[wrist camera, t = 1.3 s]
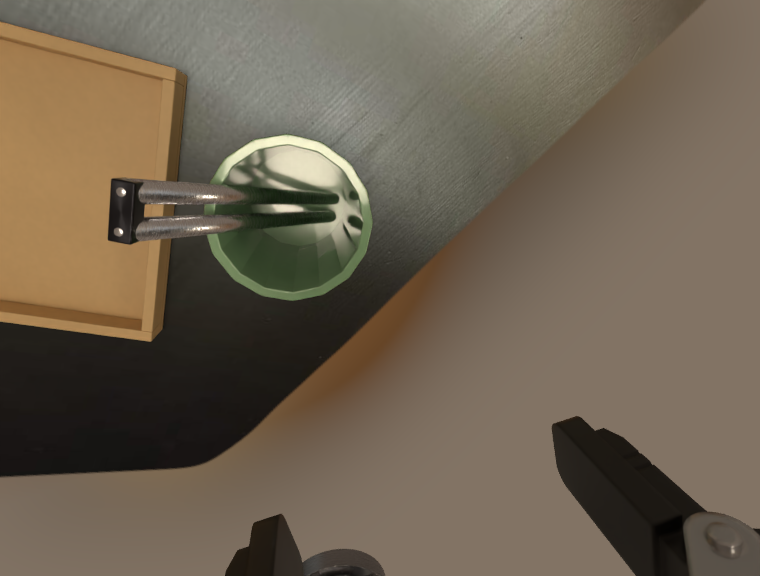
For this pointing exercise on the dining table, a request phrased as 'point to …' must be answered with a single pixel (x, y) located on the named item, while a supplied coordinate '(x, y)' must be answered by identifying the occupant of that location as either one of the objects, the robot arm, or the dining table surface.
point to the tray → (81, 183)
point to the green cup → (293, 243)
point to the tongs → (135, 193)
